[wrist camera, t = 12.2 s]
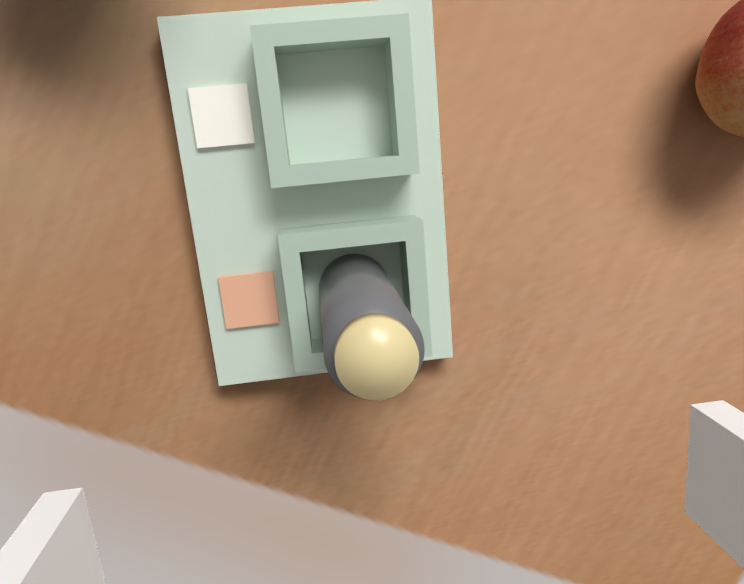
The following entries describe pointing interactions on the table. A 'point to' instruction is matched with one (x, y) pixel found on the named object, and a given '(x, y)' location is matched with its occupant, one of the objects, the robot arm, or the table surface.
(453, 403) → the table surface
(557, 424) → the table surface
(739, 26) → the apple
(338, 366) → the plug
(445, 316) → the socket block
